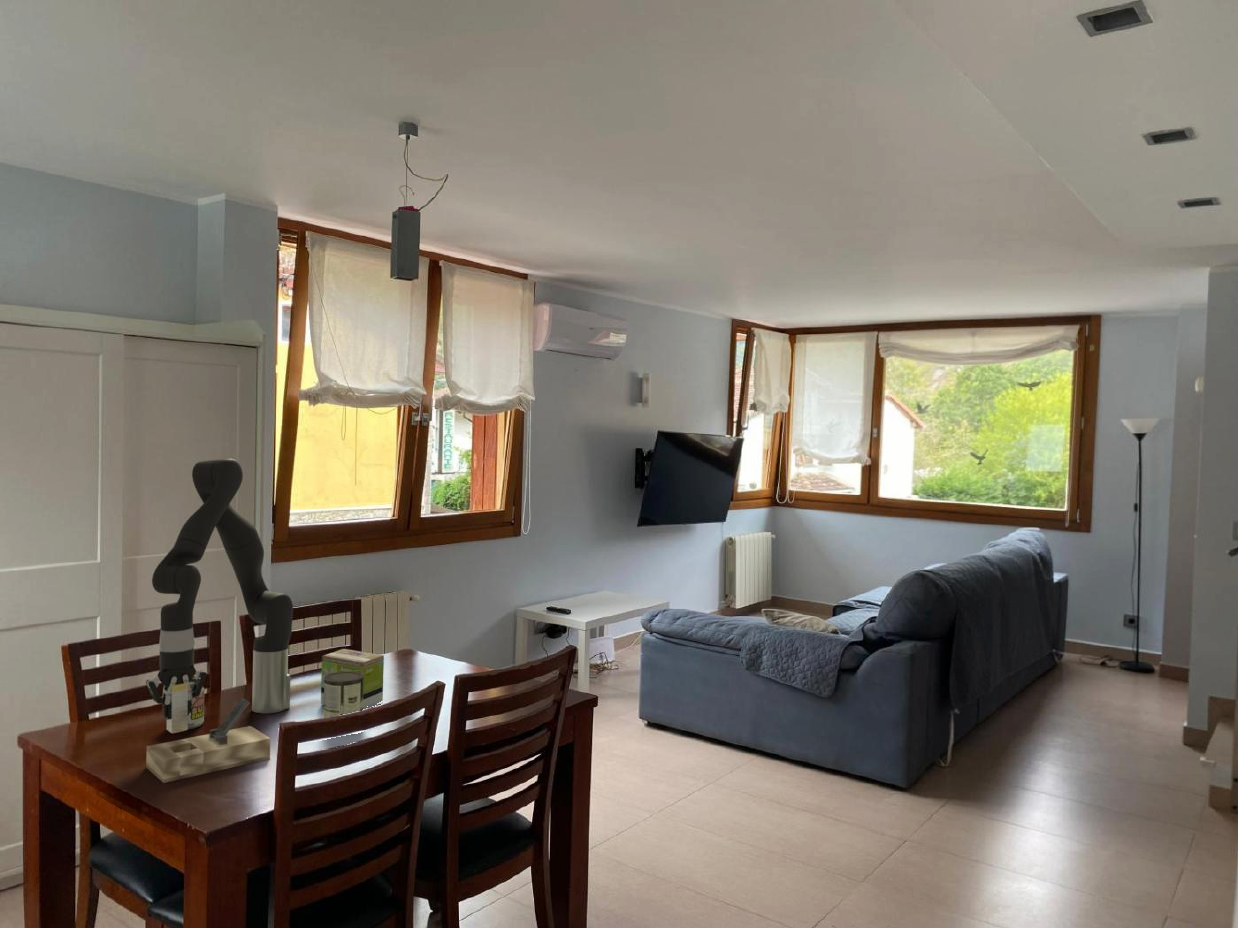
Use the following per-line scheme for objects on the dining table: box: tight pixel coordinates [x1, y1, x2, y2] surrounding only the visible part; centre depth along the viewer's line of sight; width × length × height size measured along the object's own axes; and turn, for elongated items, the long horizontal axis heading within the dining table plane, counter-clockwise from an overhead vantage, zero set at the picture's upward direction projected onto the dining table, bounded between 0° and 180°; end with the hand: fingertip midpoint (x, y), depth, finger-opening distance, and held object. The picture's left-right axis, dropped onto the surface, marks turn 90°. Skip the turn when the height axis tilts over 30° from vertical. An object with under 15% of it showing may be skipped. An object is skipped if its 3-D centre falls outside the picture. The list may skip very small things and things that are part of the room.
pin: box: [166, 683, 189, 734], centre depth 220 cm, size 4×4×12 cm
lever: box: [212, 697, 251, 741], centre depth 217 cm, size 11×4×1 cm
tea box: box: [320, 648, 385, 709], centre depth 263 cm, size 15×10×15 cm, turn 68°
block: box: [145, 725, 271, 784], centre depth 214 cm, size 24×12×7 cm, turn 134°
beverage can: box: [188, 677, 205, 730], centre depth 240 cm, size 9×8×12 cm
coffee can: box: [323, 672, 364, 719], centre depth 242 cm, size 10×10×14 cm
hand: (176, 716), depth 220 cm, fingers closed on pin, 3 cm apart
